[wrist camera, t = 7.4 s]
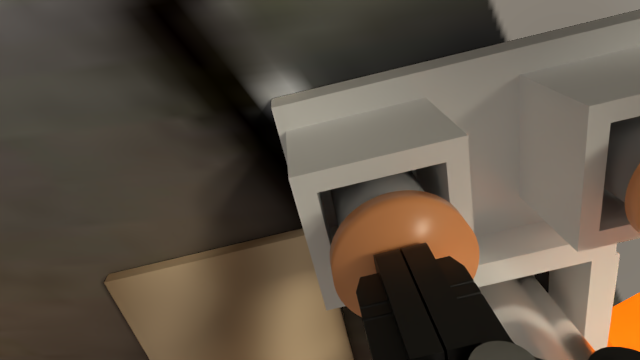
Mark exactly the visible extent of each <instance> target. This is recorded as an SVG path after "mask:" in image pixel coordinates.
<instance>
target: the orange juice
mask: <svg viewBox="0 0 640 360" xmlns="http://www.w3.org/2000/svg"><path fill="white" fill-rule="evenodd" d="M607 347H626V348H630V349H634V350H637V351H639V352H640V293H638V294H636V295H634V296H632V297H630V298H629V299H627V300H625V301H623V302H621V303H620V304H618V305H616V306H614V307H613V308H612V315H611V322H610V329H609V337H608V344H607Z"/></svg>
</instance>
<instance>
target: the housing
mask: <svg viewBox="0 0 640 360" xmlns="http://www.w3.org/2000/svg"><path fill="white" fill-rule="evenodd" d="M271 109H272V113H273V116H274V120H275V123H276V127H277V130H278V134H279V137H280V141H281V144H282V148H283V151H284V155H285V158H286V162H287V166H288V179H289V182H290V186H291V189H292V193H293V196H294V200H295V203H296V206H297V210H298V213H299V217H300V220H301V224H302V227H303V231H304V234H305V238H306V241H307V245H308V248H309V252H310V255H311V259H312V262H313V265H314V269H315V272H316V276H317V279H318V283H319V286H320V290H321V293H322V297H323V300H324V304H325V307H326V311H327V310H331V309H335V308H340V307H344V306H345V305H344V303H343V302H342V301H341V300H340V298H339V296H338V294H337V292H336V289H335V287H334V282H333V276H332V270H331V265H330V248H331V243H332V240H333V237H334V235H335V233H336V231H337V229H338V228H339V227H338V222H337V218H336V214H335V210H334V205H333V201H332V197H331V189H335V188H339V187H344V186H348V185H352V184H356V183H361V182H365V181H369V180H373V179H377V178H382V177H386V176H390V175H394V174H398V173H403V172H407V171H412V172H413V174H414V175H415V177H416V179H417V180H418V182H419V183H420V185H421V186H422V188H423V189H424V191H425V192H429V193H432V194H435V195H437V196H439V197H441V198H444V199H445V200H447V201H448V202H450V203H451V204H452V205H453V206H454V207H455V208H456V209H457V210H458V211H459V213H460V214H461V215H462V217H463V218H464V219H465V221H466V222H467V223H468V225H469V226H470V227H471V229H472V230H473V232H474V234H475V236H476V238H477V241H478V245H479V264H478V268H477V271H476V274H475V277H474V279H473V280H474V283H476V285H477V286H478V287H482V286H486V285H491V284H495V283H499V282H504V281H508V280H512V279H517V278H521V277H525V276H530V275H534V274H538V273H542V272H547V271H549V290H548V294H549V295H550V297H551V298H552V299H553V300H554V301H555V303H556V304H557V305H558V306H559V308H560V309H561V310H562V311H563V312H564V314H565V315H566V316H567V317H568V318H569V320H570V321H571V322H572V323H573V325H574V326H575V327H576V328H577V329H578V331H579V332H580V333H581V334H582V335H583V337H584V338H585V339H586V340H587V341H588V343H589V344H590V345H591V346H592V348H593V349H594V350H595V351H597V350H599V349H601V348H605V347H607V344H608V337H609V329H610V322H611V315H612V308H613V301H614V293H615V286H616V279H617V272H618V264H619V257H620V254H619V253H617V252H616V246H617V243H620V242H624V241H628V240H633V239H637V238H640V233H639V232H637V231H636V230H635V229H634V228H633V227H632V226H631V224H630V223H629V221H628V219H627V216H626V213H625V202H623V201H622V200H620V199H619V198H617V197H616V196H614V195H613V194H612V193H610V192H609V191H607V190H606V189H604V181H605V172H606V163H607V153H608V144H609V135H610V125H611V123H613V122H617V121H621V120H625V119H630V118H634V117H638V116H640V10H636V11H632V12H628V13H623V14H619V15H616V16H611V17H607V18H603V19H599V20H595V21H591V22H586V23H583V24H579V25H574V26H570V27H566V28H562V29H558V30H553V31H549V32H545V33H541V34H537V35H533V36H529V37H525V38H521V39H516V40H512V41H508V42H504V43H500V44H496V45H492V46H488V47H483V48H479V49H475V50H471V51H467V52H463V53H459V54H455V55H450V56H446V57H442V58H438V59H434V60H430V61H426V62H422V63H418V64H413V65H409V66H405V67H401V68H397V69H393V70H389V71H385V72H381V73H376V74H372V75H368V76H364V77H360V78H356V79H352V80H348V81H343V82H339V83H335V84H331V85H327V86H323V87H319V88H315V89H311V90H306V91H302V92H298V93H294V94H290V95H286V96H282V97H278V98H273V99H272V100H271Z"/></svg>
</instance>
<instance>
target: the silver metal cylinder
mask: <svg viewBox="0 0 640 360" xmlns="http://www.w3.org/2000/svg"><path fill="white" fill-rule="evenodd" d="M478 288H479V289H480V291H481V294H483V296H484V297H485V299H486V300H487V302H488V304H489V305H490V307H491V308H492V310H493V312H494V313H495V315H496V316H497V318H498V319H499V321H500V323H501V324H502V326H503V327H504V329H505V330H506V332H507V334H508V335H509V337H510V338H511V339H512V341H513V342H514V343H515V344H516V345H518V346H521V347H522V348H524V349H526V350H527V351H528V352H529V353H531V354H532V355H533V356H534V357H537V358H540V359H543V360H588V358H589V357H590V356H591V354H593V353H594V352H595V350H594V349H593V348H592V346H591V345H590V344H589V343H588V341H587V340H586V339H585V338H584V337H583V335H582V334H581V333H580V332H579V331H578V329H577V328H576V327H575V326H574V325H573V323H572V322H571V321H570V320H569V318H568V317H567V316H566V315H565V314H564V312H563V311H562V310H561V309H560V308H559V306H558V305H557V304H556V303H555V301H554V300H553V299H552V298H551V297H550V295H549V294H548V293H547V292H546V291H545V289H544V288H543V287H542V286H541V284H540V283H539V282H538V281H537V280H536V278H535V277H534V275H530V276H525V277H521V278H517V279H512V280H508V281H504V282H499V283H495V284H491V285H486V286H482V287H478Z"/></svg>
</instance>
